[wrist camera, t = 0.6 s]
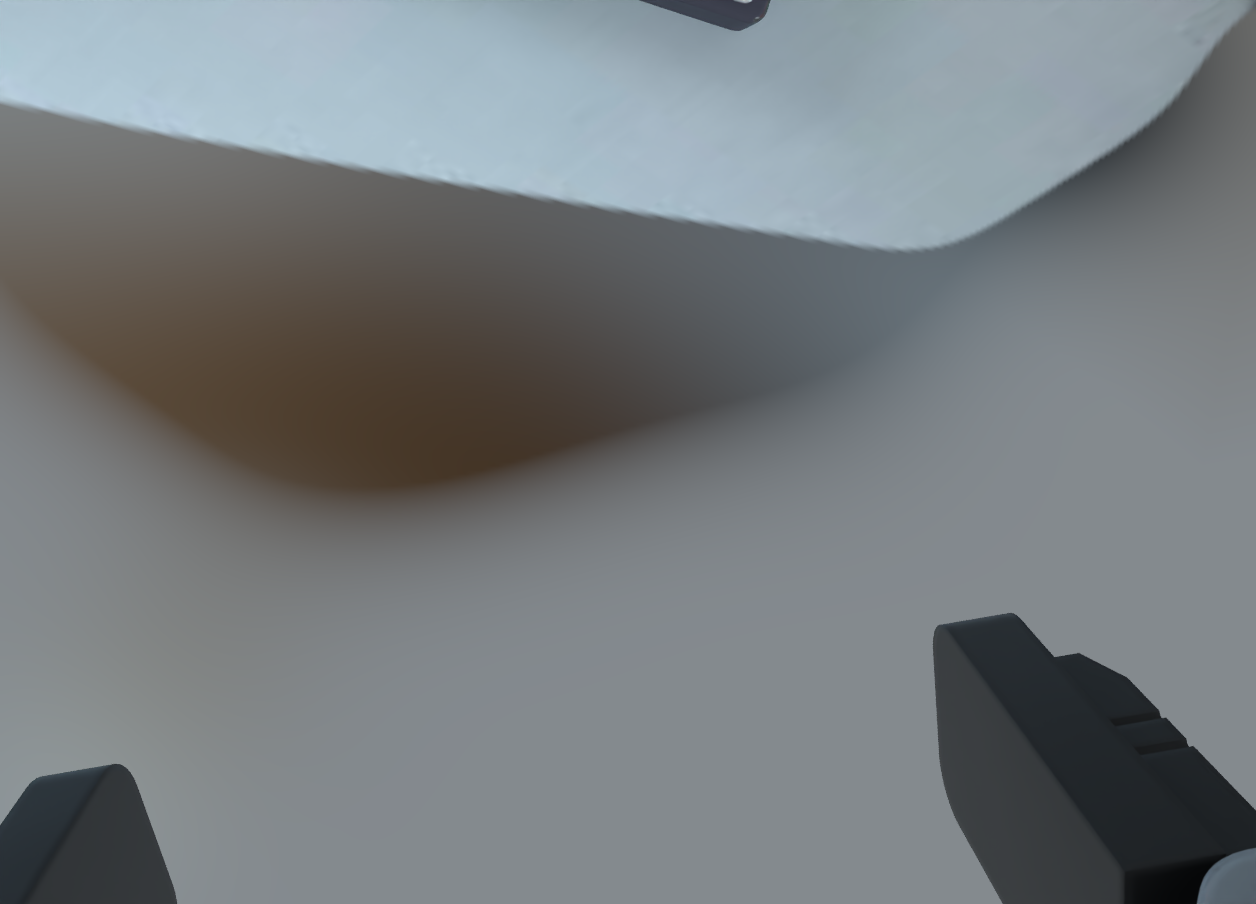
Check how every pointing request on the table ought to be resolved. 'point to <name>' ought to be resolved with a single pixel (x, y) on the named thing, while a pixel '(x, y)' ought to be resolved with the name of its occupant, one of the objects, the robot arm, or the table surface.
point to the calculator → (719, 11)
